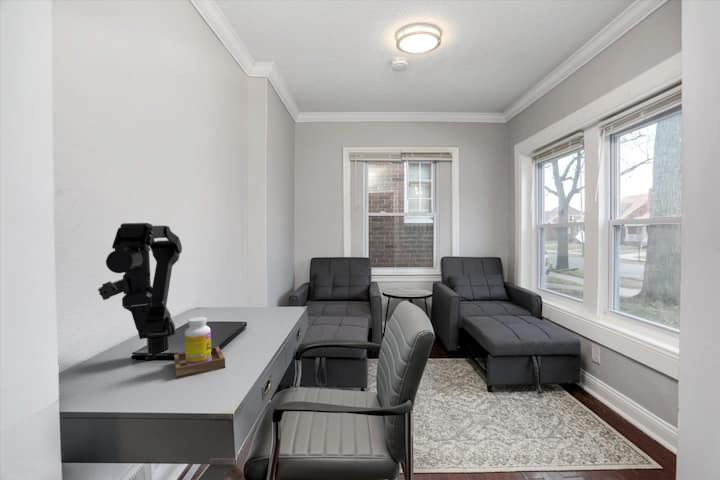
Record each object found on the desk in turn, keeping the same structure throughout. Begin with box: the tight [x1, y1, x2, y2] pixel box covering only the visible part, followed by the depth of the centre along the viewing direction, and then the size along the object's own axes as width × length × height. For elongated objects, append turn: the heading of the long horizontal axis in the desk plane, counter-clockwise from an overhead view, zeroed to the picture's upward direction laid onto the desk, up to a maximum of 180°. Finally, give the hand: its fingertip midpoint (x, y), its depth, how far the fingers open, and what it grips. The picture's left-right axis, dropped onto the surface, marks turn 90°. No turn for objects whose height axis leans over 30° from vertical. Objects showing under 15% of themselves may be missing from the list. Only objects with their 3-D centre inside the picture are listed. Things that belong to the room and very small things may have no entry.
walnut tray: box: [173, 345, 226, 379], centre depth 94 cm, size 12×12×3 cm
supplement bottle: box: [184, 316, 212, 365], centre depth 94 cm, size 7×7×13 cm
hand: (139, 325), depth 90 cm, fingers open, 9 cm apart
